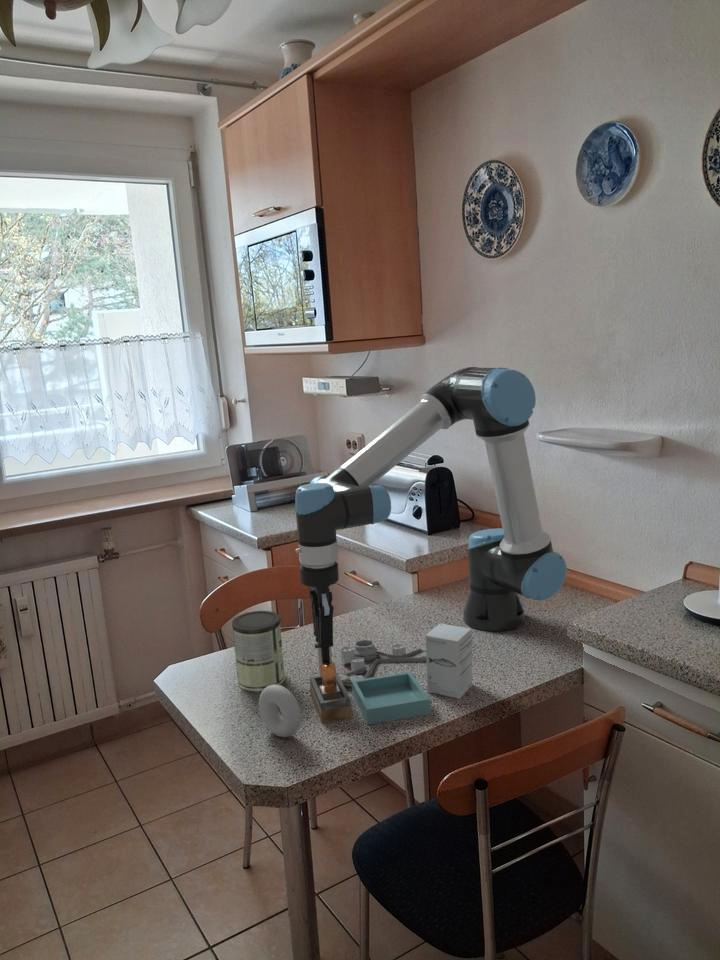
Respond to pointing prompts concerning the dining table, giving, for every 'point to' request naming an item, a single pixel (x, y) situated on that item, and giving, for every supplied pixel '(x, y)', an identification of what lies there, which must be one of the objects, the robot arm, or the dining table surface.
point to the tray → (390, 697)
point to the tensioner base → (330, 701)
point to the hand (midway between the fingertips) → (325, 674)
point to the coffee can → (258, 650)
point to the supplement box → (449, 660)
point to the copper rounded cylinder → (329, 682)
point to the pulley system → (368, 652)
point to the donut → (287, 705)
